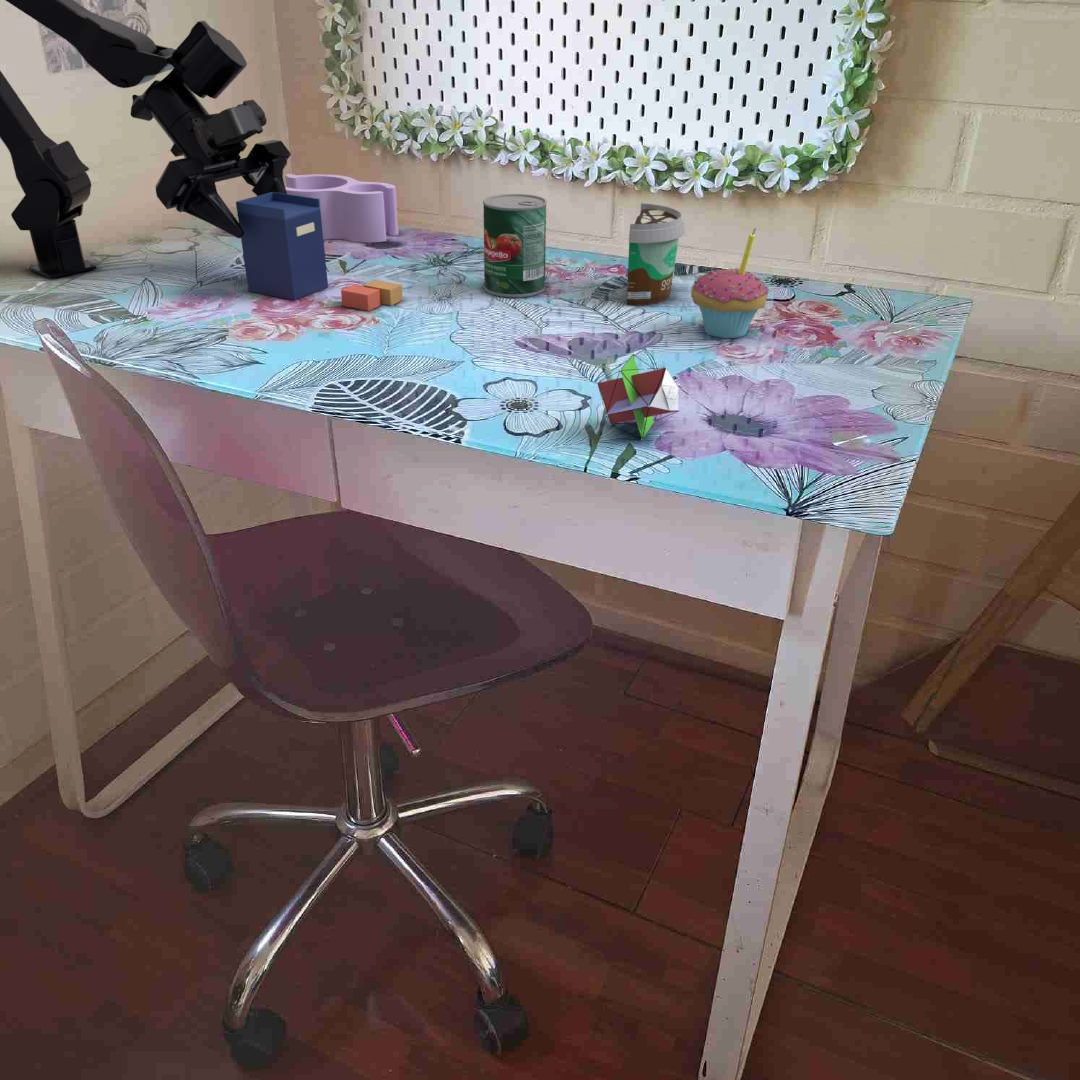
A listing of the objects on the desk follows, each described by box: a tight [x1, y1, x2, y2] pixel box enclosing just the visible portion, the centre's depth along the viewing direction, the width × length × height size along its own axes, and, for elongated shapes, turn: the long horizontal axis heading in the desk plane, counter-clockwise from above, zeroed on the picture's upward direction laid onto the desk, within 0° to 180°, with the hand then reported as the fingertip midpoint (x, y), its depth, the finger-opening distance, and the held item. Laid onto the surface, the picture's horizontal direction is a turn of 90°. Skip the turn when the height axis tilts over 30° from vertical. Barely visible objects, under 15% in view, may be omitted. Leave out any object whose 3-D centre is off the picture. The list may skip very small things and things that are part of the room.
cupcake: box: [690, 227, 770, 339], centre depth 111 cm, size 9×8×12 cm
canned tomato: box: [482, 193, 548, 298], centre depth 124 cm, size 8×8×11 cm
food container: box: [625, 202, 686, 306], centre depth 123 cm, size 12×6×10 cm, turn 168°
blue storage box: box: [235, 192, 329, 301], centre depth 123 cm, size 8×7×11 cm
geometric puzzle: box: [596, 353, 680, 441], centre depth 89 cm, size 7×7×8 cm
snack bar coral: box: [340, 284, 382, 312], centre depth 120 cm, size 4×2×2 cm, turn 62°
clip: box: [284, 173, 399, 244], centre depth 150 cm, size 20×12×7 cm, turn 69°
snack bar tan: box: [363, 279, 404, 307], centre depth 122 cm, size 4×2×2 cm, turn 62°
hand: (268, 228), depth 123 cm, fingers open, 9 cm apart
